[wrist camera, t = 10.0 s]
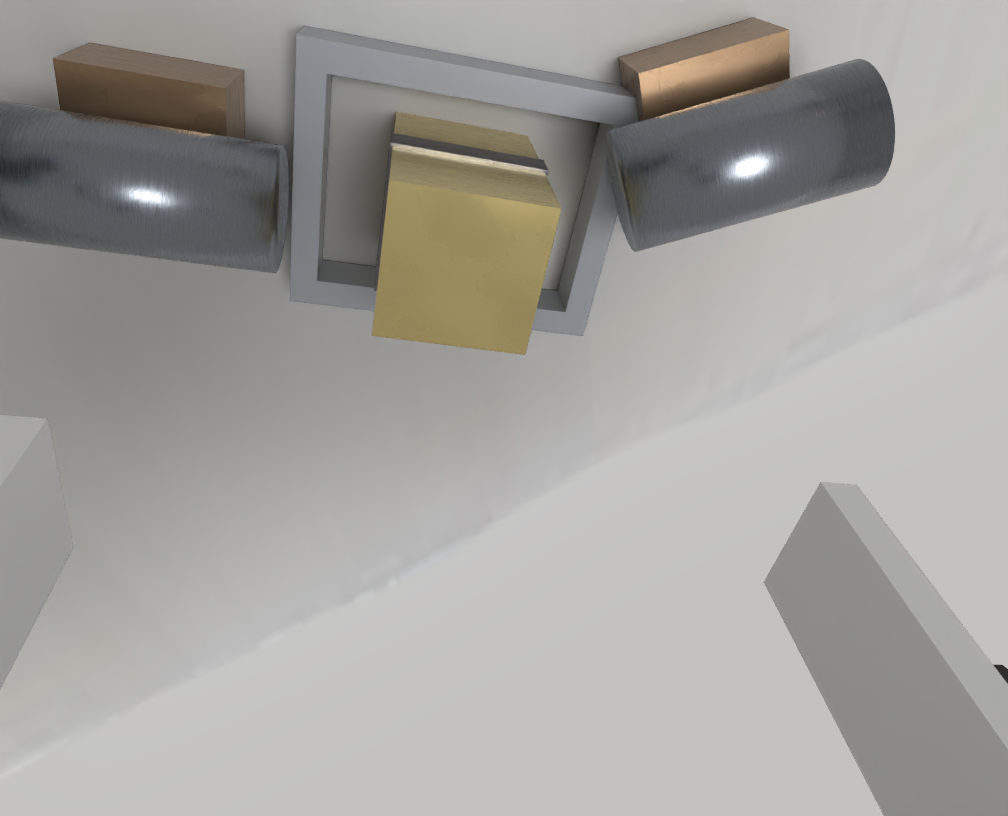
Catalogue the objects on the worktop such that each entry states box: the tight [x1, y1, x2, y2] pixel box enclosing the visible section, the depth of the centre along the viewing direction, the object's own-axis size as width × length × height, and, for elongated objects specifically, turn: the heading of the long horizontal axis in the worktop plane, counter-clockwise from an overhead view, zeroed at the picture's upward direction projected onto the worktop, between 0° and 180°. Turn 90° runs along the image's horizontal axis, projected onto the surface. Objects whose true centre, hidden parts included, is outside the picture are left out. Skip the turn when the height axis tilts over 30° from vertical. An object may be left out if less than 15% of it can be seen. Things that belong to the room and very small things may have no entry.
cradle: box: [290, 26, 639, 336], centre depth 28 cm, size 12×10×2 cm
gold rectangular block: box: [372, 112, 561, 355], centre depth 25 cm, size 5×5×8 cm
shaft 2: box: [606, 18, 895, 252], centre depth 25 cm, size 8×6×7 cm
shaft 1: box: [0, 43, 289, 273], centre depth 24 cm, size 9×6×7 cm, turn 79°
